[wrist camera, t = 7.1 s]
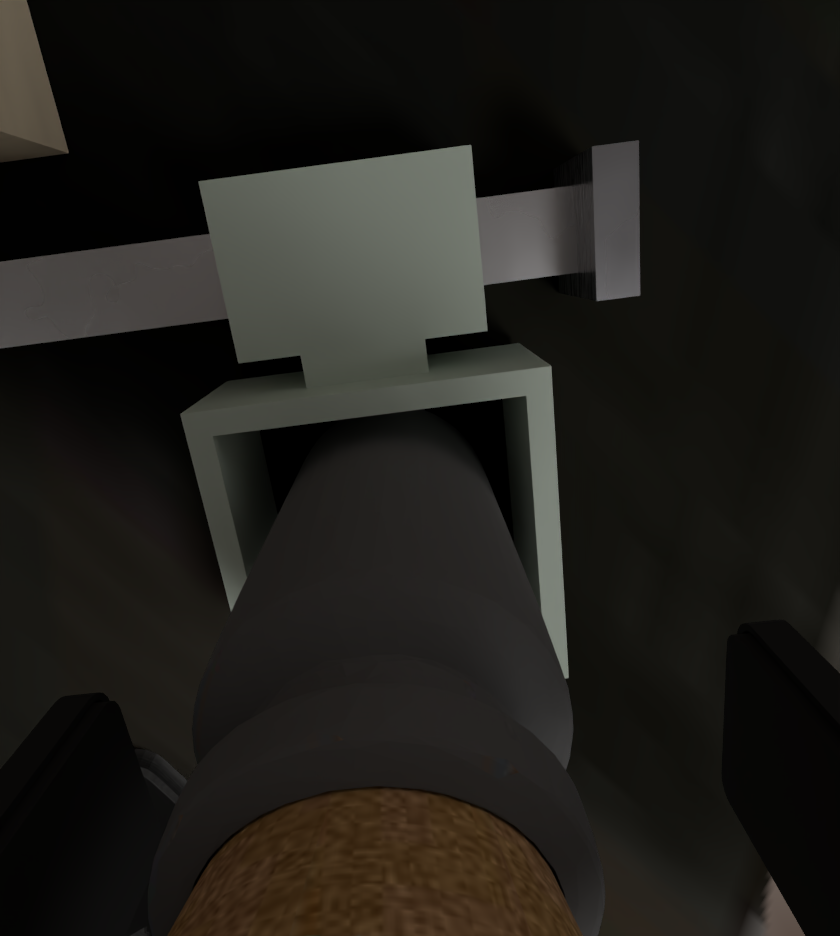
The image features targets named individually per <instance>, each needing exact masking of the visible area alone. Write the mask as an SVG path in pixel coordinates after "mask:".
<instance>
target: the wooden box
mask: <svg viewBox="0 0 840 936" xmlns="http://www.w3.org/2000/svg"><path fill="white" fill-rule="evenodd" d="M67 153H69V151H68V148H67V144H66V140H65V137H64V133H63V130H62V126H61V122H60V119H59V115H58V112H57V108H56V104H55V101H54V97H53V94H52V90H51V87H50V83H49V79H48V76H47V72H46V69H45V65H44V61H43V58H42V54H41V51H40V47H39V43H38V40H37V36H36V33H35V29H34V25H33V22H32V18H31V15H30V11H29V7H28V4H27V0H0V162H8V161H15V160H22V159H30V158H37V157H45V156H52V155H59V154H67Z"/></svg>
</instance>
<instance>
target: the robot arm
mask: <svg viewBox="0 0 840 936" xmlns="http://www.w3.org/2000/svg"><path fill="white" fill-rule="evenodd" d="M722 782H723V787H724V790H725V793H726V796H727V799H728V801H729V803H730V805H731V806H732V808H733V810H734V812H735V813H736V815H737V817H738V819H739V820H740V822H741V824H742V826H743V827H744V829H745V831H746V833H747V834H748V836H749V838H750V840H751V841H752V843H753V845H754V847H755V848H756V850H757V852H758V854H759V855H760V857H761V859H762V861H763V862H764V864H765V866H766V868H767V869H768V871H769V873H770V875H771V876H772V878H773V880H774V882H775V883H776V885H777V887H778V888H779V890H780V892H781V894H782V895H783V897H784V899H785V901H786V903H787V904H788V906H789V907H790V909H791V911H792V913H793V915H794V916H795V918H796V920H797V922H798V924H799V925H800V927H801V929H802V930H803V932H804V934H805V936H840V673H839V672H838V671H837V670H836V669H835V668H834V667H833V666H832V665H831V664H830V663H829V662H828V661H827V660H826V659H825V658H823V657H822V656H821V655H820V654H819V653H818V652H817V651H816V650H815V649H814V648H813V647H812V646H811V645H810V644H809V643H808V642H807V641H806V640H805V639H804V638H803V637H802V636H801V635H800V634H799V633H798V632H797V631H796V630H795V629H794V628H793V627H792V626H791V625H790V624H789V623H787V622H786V621H785V620H771V621H762V622H752V623H743V624H742V625H740V627H739V629H738V633H737V634H735V635H731V636H729V638H728V641H727V656H726V680H725V705H724V729H723V753H722ZM161 839H162V830H161V826H160V823H159V820H158V817H157V814H156V812H155V809H154V806H153V803H152V800H151V797H150V794H149V791H148V788H147V785H146V782H145V779H144V777H143V774H142V771H141V768H140V765H139V762H138V759H137V756H136V753H135V750H134V747H133V744H132V742H131V739H130V736H129V733H128V730H127V727H126V724H125V721H124V718H123V715H122V712H121V709H120V707H119V705H118V704H117V703H116V702H115V701H109V699H108V697H107V696H106V695H105V694H104V693H90V694H81V695H71V696H65V697H62V698H60V699H59V700H58V701H57V702H55V704H54V705H53V706H52V707H51V708H50V710H49V711H48V712H47V713H46V714H45V716H44V717H43V718H42V719H41V721H40V722H39V723H38V724H37V725H36V727H35V728H34V729H33V730H32V732H31V733H30V734H29V735H28V736H27V738H26V739H25V740H24V741H23V743H22V744H21V745H20V746H19V747H18V749H17V750H16V751H15V752H14V754H13V755H12V756H11V757H10V758H9V760H8V761H7V762H6V763H5V765H4V766H3V767H2V768H1V769H0V936H125V935H126V933H127V931H128V928H129V926H130V924H131V922H132V919H133V917H134V915H135V912H136V910H137V908H138V905H139V903H140V901H141V898H142V896H143V894H144V892H145V889H146V887H147V885H148V882H149V880H150V876H151V871H152V866H153V861H154V856H155V854H156V851H157V849H158V846H159V844H160V841H161Z"/></svg>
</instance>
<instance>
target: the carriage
mask: <svg viewBox="0 0 840 936" xmlns="http://www.w3.org/2000/svg"><path fill="white" fill-rule="evenodd" d="M198 183H199V187H200V192H201V196H202V201H203V205H204V210H205V214H206V219H207V223H208V228H209V232H210V237H211V242H212V246H213V251H214V255H215V260H216V264H217V269H218V273H219V278H220V282H221V287H222V292H223V296H224V301H225V305H226V310H227V314H228V319H229V323H230V328H231V332H232V337H233V341H234V346H235V351H236V355H237V360H238V363H246V362H253V361H261V360H269V359H276V358H284V357H292V356H299V355H300V356H301V361H302V367H303V371H300V372H293V373H285V374H277V375H270V376H262V377H254V378H247V379H239V380H231V381H227V382H225V383H224V384H222V385H221V386H220V387H218V388H217V389H215V390H214V391H212V392H211V393H210V394H208V395H207V396H205V397H204V398H202V399H201V400H200V401H198V402H197V403H195V404H194V405H192V406H191V407H190V408H188V409H187V410H185V411H184V412H182V413H181V414H180V416H181V420H182V423H183V427H184V431H185V435H186V439H187V443H188V447H189V451H190V454H191V458H192V462H193V466H194V470H195V474H196V478H197V482H198V485H199V489H200V493H201V497H202V501H203V505H204V509H205V513H206V517H207V520H208V524H209V528H210V532H211V536H212V540H213V544H214V548H215V551H216V555H217V559H218V563H219V567H220V571H221V575H222V579H223V583H224V586H225V590H226V594H227V598H228V602H229V606H230V610H231V611H232V609H233V607H234V605H235V602H236V600H237V598H238V596H239V594H240V591H241V589H242V587H243V585H244V583H245V581H246V579H247V577H248V575H249V573H250V571H251V569H252V567H253V565H254V563H255V561H256V559H257V557H258V555H259V553H260V550H261V548H262V546H263V544H264V542H265V540H266V538H267V536H268V534H269V532H270V530H271V528H272V526H273V524H274V522H275V520H276V518H277V516H278V514H277V509H276V504H275V500H274V495H273V491H272V486H271V481H270V477H269V472H268V467H267V463H266V458H265V454H264V449H263V444H262V440H261V435H260V431H259V430H265V429H272V428H280V427H288V426H296V425H303V424H311V423H319V422H327V421H334V420H342V419H350V418H358V417H365V416H373V415H381V414H389V413H396V412H404V411H412V410H420V409H427V408H435V407H443V406H451V405H458V404H466V403H474V402H482V401H489V400H497V399H502V401H503V413H504V425H505V438H506V450H507V462H508V474H509V486H510V498H511V510H512V522H513V534H514V546H515V548H516V551H517V553H518V556H519V558H520V561H521V563H522V566H523V568H524V571H525V573H526V575H527V578H528V580H529V583H530V585H531V588H532V590H533V593H534V595H535V598H536V600H537V603H538V606H539V608H540V611H541V614H542V616H543V619H544V622H545V625H546V627H547V630H548V633H549V636H550V638H551V641H552V644H553V647H554V649H555V652H556V655H557V658H558V660H559V663H560V666H561V669H562V672H563V675H564V678H569V675H568V657H567V639H566V621H565V603H564V585H563V567H562V550H561V532H560V514H559V496H558V478H557V460H556V442H555V425H554V407H553V389H552V371H551V366H550V365H549V364H548V363H546V362H545V361H543V360H542V359H541V358H539V357H538V356H536V355H535V354H533V353H532V352H531V351H529V350H528V349H526V348H525V347H524V346H522V345H521V344H519V343H516V344H508V345H500V346H492V347H485V348H477V349H469V350H462V351H454V352H446V353H439V354H431V355H427V351H426V343H425V339H430V338H437V337H445V336H453V335H460V334H468V333H476V332H483V331H488V330H487V319H486V308H485V296H484V285H483V273H482V262H481V251H480V239H479V228H478V216H477V205H476V194H475V182H474V171H473V160H472V148H471V145H466V146H458V147H451V148H444V149H436V150H429V151H421V152H414V153H406V154H399V155H391V156H384V157H376V158H369V159H362V160H354V161H347V162H339V163H332V164H324V165H317V166H309V167H302V168H294V169H287V170H280V171H272V172H265V173H257V174H250V175H242V176H235V177H227V178H220V179H212V180H205V181H198Z"/></svg>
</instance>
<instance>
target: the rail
mask: <svg viewBox="0 0 840 936" xmlns="http://www.w3.org/2000/svg"><path fill="white" fill-rule="evenodd" d="M553 173H554V188H551V189H543V190H536V191H528V192H521V193H513V194H506V195H498V196H491V197H483V198H476V205H477V216H478V228H479V239H480V251H481V262H482V273H483V285H487V284H494V283H502V282H510V281H517V280H525V279H533V278H540V277H548V276H555V275H559V293H561V294H566V295H570V296H575V297H580V298H584V299H589V300H594V301H601V300H609V299H617V298H624V297H632V296H640V225H639V140H638V141H630V142H623V143H615V144H608V145H600V146H593V147H590V148H589V149H587V150H585V151H584V152H582V153H580V154H579V155H577V156H575V157H573V158H572V159H570V160H568V161H567V162H565V163H563V164H562V165H560V166H558V167H557V168H555V169H553ZM220 319H228V314H227V310H226V305H225V301H224V296H223V292H222V287H221V282H220V278H219V273H218V269H217V264H216V260H215V255H214V251H213V246H212V242H211V237H210V234H205V235H198V236H190V237H182V238H175V239H167V240H160V241H152V242H145V243H137V244H130V245H122V246H115V247H107V248H100V249H92V250H85V251H77V252H70V253H62V254H55V255H47V256H40V257H32V258H25V259H17V260H10V261H2V262H0V348H7V347H15V346H22V345H30V344H38V343H45V342H53V341H61V340H68V339H76V338H83V337H91V336H99V335H106V334H114V333H121V332H129V331H137V330H144V329H152V328H159V327H167V326H175V325H182V324H190V323H198V322H205V321H213V320H220Z"/></svg>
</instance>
